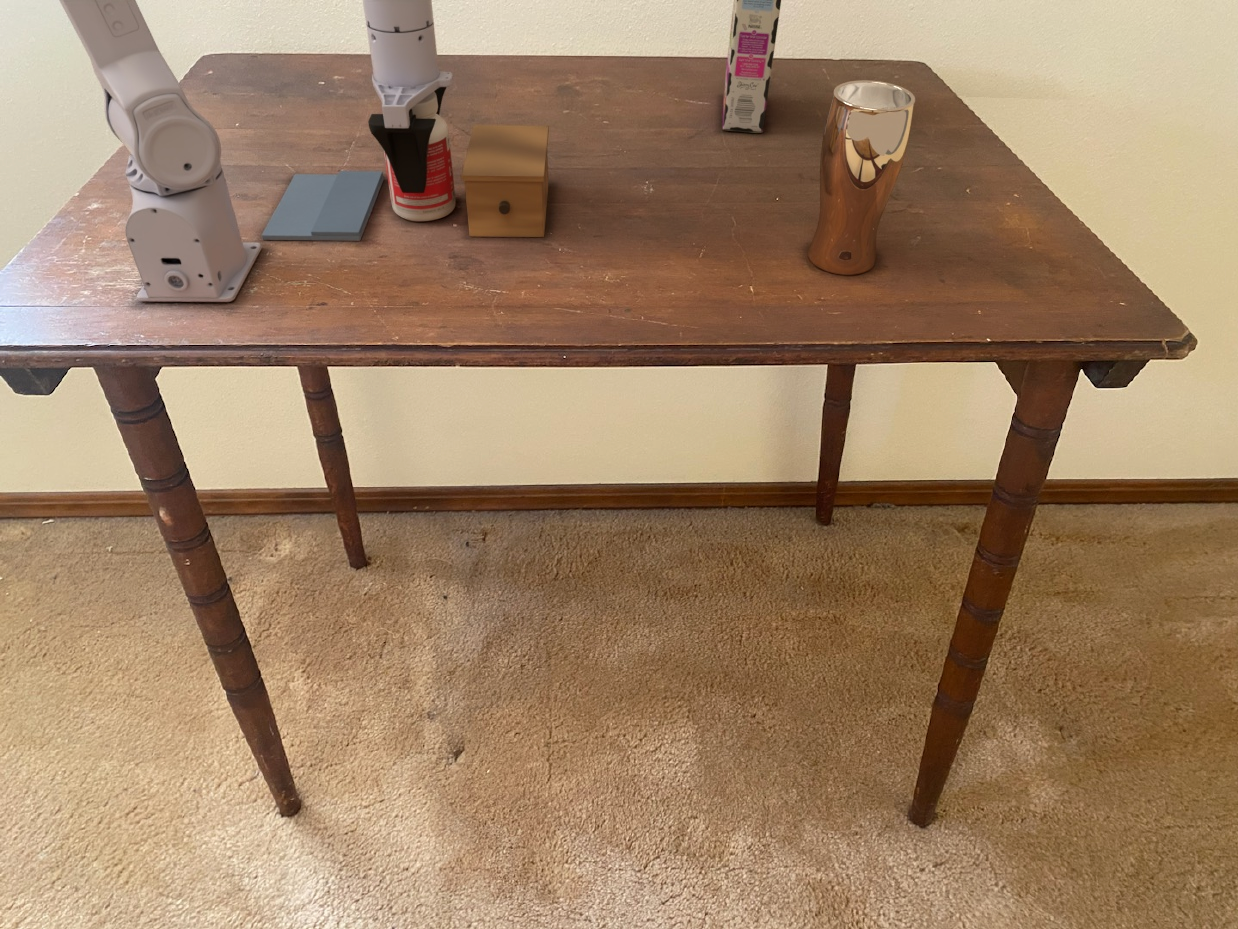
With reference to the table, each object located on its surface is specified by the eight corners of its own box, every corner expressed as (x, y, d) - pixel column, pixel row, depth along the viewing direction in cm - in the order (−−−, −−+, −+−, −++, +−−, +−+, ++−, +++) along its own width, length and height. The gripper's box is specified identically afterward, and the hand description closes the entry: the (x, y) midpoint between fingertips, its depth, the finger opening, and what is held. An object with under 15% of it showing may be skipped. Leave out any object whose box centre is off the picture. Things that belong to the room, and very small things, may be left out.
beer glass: (788, 258, 86) (814, 93, 76) (830, 232, 89) (860, 72, 79) (853, 286, 82) (890, 117, 72) (893, 258, 86) (933, 94, 76)
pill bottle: (467, 213, 91) (456, 99, 83) (408, 229, 88) (392, 113, 81) (439, 189, 95) (426, 78, 87) (382, 203, 92) (364, 90, 85)
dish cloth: (360, 240, 86) (358, 232, 86) (262, 240, 86) (260, 231, 86) (383, 179, 96) (382, 170, 95) (295, 178, 96) (294, 169, 95)
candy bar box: (765, 134, 107) (785, -22, 96) (721, 132, 107) (737, -25, 96) (763, 98, 115) (781, -50, 104) (722, 96, 115) (737, -52, 104)
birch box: (545, 241, 87) (543, 178, 83) (466, 240, 87) (460, 177, 83) (550, 184, 96) (548, 125, 92) (478, 183, 96) (473, 124, 92)
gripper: (436, 51, 75) (452, 208, 84) (456, -2, 85) (469, 142, 94) (347, 50, 74) (373, 207, 83) (378, -4, 85) (399, 141, 94)
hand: (419, 173), depth 89 cm, fingers open, 7 cm apart
